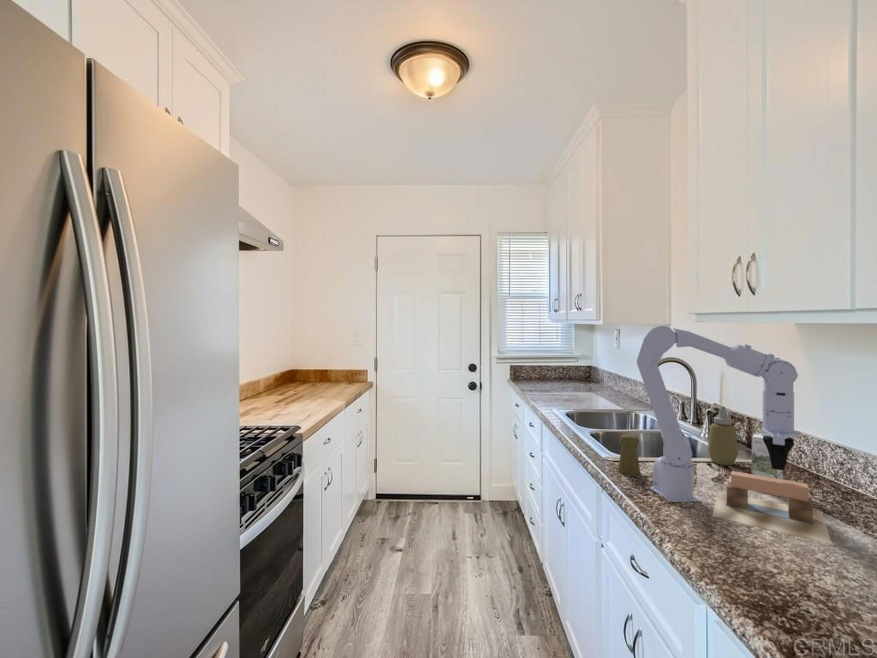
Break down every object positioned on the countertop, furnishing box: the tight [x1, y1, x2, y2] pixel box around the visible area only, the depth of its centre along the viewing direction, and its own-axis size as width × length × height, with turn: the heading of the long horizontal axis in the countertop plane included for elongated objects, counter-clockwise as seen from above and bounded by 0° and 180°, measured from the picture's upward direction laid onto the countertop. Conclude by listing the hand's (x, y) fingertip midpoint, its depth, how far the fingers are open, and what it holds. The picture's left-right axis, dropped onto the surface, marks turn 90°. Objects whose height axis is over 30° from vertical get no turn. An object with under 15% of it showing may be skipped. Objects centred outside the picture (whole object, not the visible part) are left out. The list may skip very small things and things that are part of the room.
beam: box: [730, 470, 809, 501], centre depth 99 cm, size 14×3×3 cm, turn 53°
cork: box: [617, 433, 641, 476], centre depth 127 cm, size 6×6×11 cm
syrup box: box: [751, 432, 784, 480], centre depth 113 cm, size 6×6×14 cm
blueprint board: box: [712, 481, 833, 545], centre depth 97 cm, size 20×18×5 cm
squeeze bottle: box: [707, 406, 739, 466], centre depth 134 cm, size 8×8×18 cm
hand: (778, 468), depth 98 cm, fingers closed
